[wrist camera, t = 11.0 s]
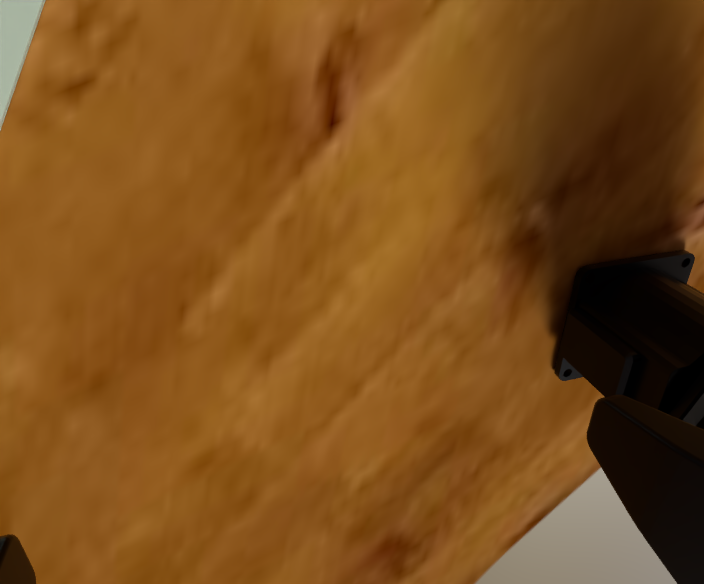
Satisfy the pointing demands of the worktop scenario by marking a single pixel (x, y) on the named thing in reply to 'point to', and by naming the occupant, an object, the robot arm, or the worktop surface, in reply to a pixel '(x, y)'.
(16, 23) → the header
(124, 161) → the worktop surface
